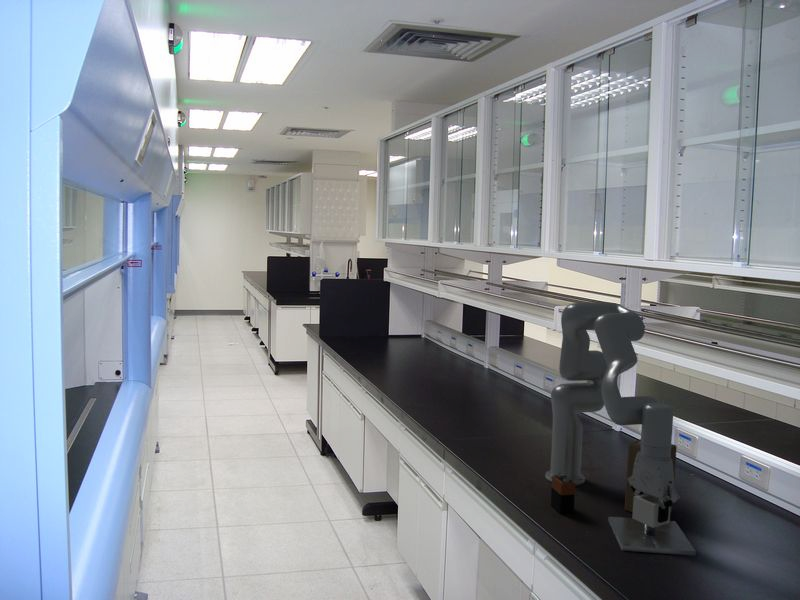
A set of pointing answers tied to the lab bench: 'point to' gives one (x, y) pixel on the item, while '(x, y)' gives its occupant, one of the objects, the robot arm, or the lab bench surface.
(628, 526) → the plate
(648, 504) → the gray square frame
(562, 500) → the battery
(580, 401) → the robot arm
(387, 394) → the lab bench surface
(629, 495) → the wooden block
